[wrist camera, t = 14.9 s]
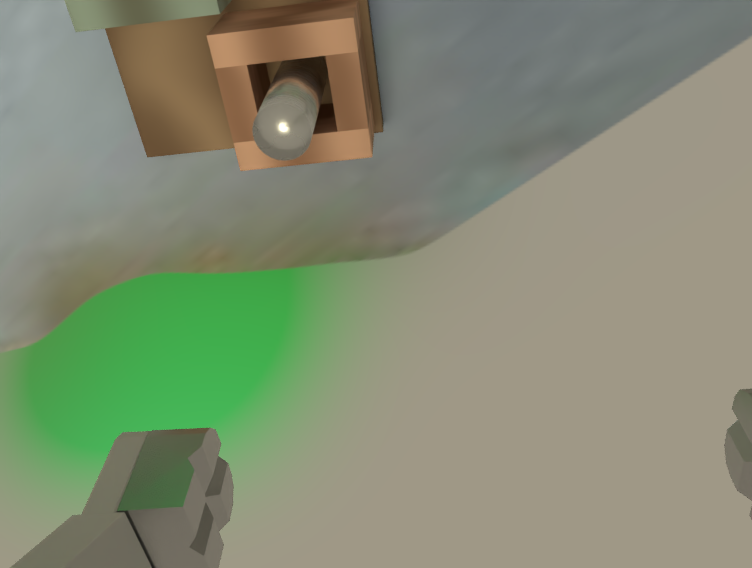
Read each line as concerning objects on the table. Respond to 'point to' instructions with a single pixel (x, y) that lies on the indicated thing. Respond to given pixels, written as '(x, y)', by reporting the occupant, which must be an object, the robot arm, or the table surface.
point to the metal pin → (291, 108)
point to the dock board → (189, 81)
